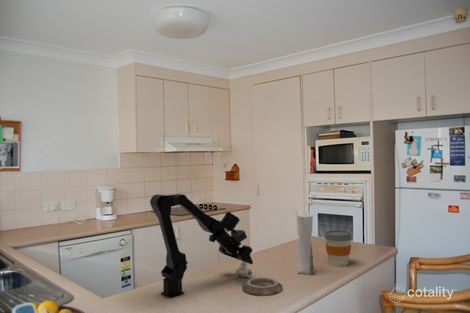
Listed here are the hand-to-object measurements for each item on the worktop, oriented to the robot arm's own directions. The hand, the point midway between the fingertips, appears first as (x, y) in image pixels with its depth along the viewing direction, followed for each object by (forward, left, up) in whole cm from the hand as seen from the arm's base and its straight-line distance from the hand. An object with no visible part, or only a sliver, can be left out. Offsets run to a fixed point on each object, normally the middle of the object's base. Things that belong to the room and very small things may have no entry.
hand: (246, 261), depth 169 cm
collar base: (-7, -16, -7) cm, 19 cm away
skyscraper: (+23, -16, -7) cm, 28 cm away
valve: (-1, 0, -7) cm, 7 cm away
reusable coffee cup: (+45, -20, -7) cm, 49 cm away
